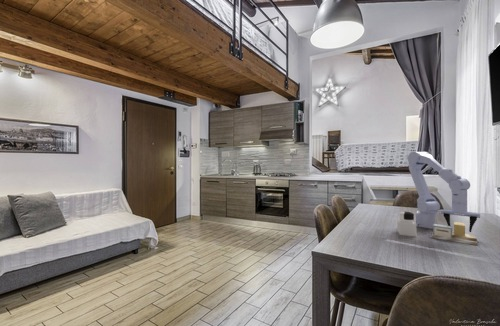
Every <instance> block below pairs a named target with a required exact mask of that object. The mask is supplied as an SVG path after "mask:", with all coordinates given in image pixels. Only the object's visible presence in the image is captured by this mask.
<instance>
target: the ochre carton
mask: <svg viewBox="0 0 500 326" xmlns="http://www.w3.org/2000/svg"><path fill="white" fill-rule="evenodd" d="M453 232H454V235H458V236H464V237H465V234H466V223H465V222H459V221H458V222H456V221H454V223H453Z"/></svg>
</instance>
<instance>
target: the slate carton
mask: <svg viewBox="0 0 500 326" xmlns="http://www.w3.org/2000/svg"><path fill="white" fill-rule="evenodd" d="M452 232H453V226H452V225H450V226H448V225H446V224H434V225H433V229H432V235H438V236H444V237H450V238H452Z"/></svg>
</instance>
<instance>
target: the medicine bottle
mask: <svg viewBox="0 0 500 326" xmlns="http://www.w3.org/2000/svg"><path fill="white" fill-rule="evenodd" d="M414 216H415V214H414V213H413V212H410V211H400V212H399V219H397V222H396V223H397V227H396V229H397V230H396V231H397V233H398V235H399V236H407V237H417V226H416V221H415V217H414Z"/></svg>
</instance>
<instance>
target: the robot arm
mask: <svg viewBox="0 0 500 326" xmlns="http://www.w3.org/2000/svg"><path fill="white" fill-rule="evenodd" d="M406 159H407V161H408V170H409V172H410V176H411V178H412V181H413V184H414V186H415V189H416V192H417V194H418V197H417V199H416V202H417V205H416V206H417V210H418V211H416V213H415V223H416V227H420V228H425V229H430V230H431V229H432V230H433V225H434V224H437V222H438V221H437V219H438V217H437V216H438V211H440V215H443V217H444V220H445V221H446V223H447V226H451V216H460V217H469V225H468V226H469V228H468V232H469V233H472V230H473V227H474V225H475V223H476V222H477V220H478V219H481V213H478V212H472V211H468V190H470V187H471V182H470V181H469V179H466V178H462V176H460V175H458V174H457V173H455V172H454V169H452V168H445V167H444V166H443V165H442V164H441V163H439V162H438V161H437V160H436V159H435V158H434V157H433V155H432V154H430V152H428V151H411V152H410V153H409V154H408V156H407V157H406ZM425 164H426V165H428V166H430V168H432V169H433V170H435V172H438V177H440V178H441V179H442V180H444V182H446V183H447V184H448V188H449V189H450V190H451V192H450V193H451V209H441V205H440V202H438V200H437V199H436V197H435V196H433V195H432V194H431V192H430V189H429V187H428V184H427V181H426V179H425V176H424V174H423V172H422V168H423V166H425Z"/></svg>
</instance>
